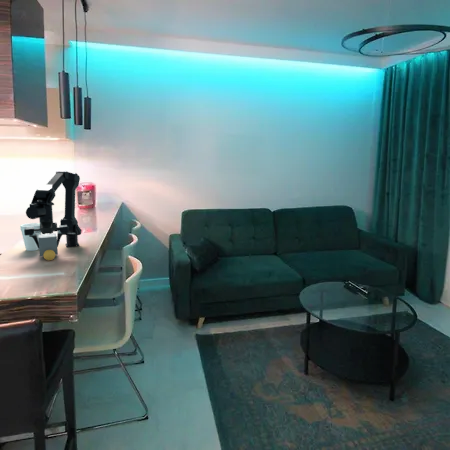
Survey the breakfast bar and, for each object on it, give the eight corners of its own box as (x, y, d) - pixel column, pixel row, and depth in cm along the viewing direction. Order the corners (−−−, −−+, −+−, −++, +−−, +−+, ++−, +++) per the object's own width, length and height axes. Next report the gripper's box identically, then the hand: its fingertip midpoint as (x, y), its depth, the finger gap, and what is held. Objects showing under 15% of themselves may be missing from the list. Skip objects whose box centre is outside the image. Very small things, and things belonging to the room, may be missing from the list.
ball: (43, 257, 162) (42, 248, 160) (55, 256, 164) (54, 247, 163) (43, 262, 158) (43, 253, 156) (55, 261, 160) (55, 252, 159)
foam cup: (47, 247, 182) (45, 223, 179) (33, 252, 173) (31, 227, 170) (32, 246, 184) (30, 222, 182) (18, 250, 175) (15, 225, 173)
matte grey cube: (39, 252, 167) (38, 234, 166) (57, 250, 171) (55, 233, 169) (39, 256, 161) (38, 238, 159) (57, 254, 164) (56, 236, 163)
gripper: (22, 219, 151) (25, 253, 154) (68, 217, 160) (70, 249, 163) (23, 215, 161) (26, 247, 163) (66, 213, 169) (68, 244, 172)
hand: (48, 247), depth 165 cm, fingers closed on matte grey cube, 8 cm apart
